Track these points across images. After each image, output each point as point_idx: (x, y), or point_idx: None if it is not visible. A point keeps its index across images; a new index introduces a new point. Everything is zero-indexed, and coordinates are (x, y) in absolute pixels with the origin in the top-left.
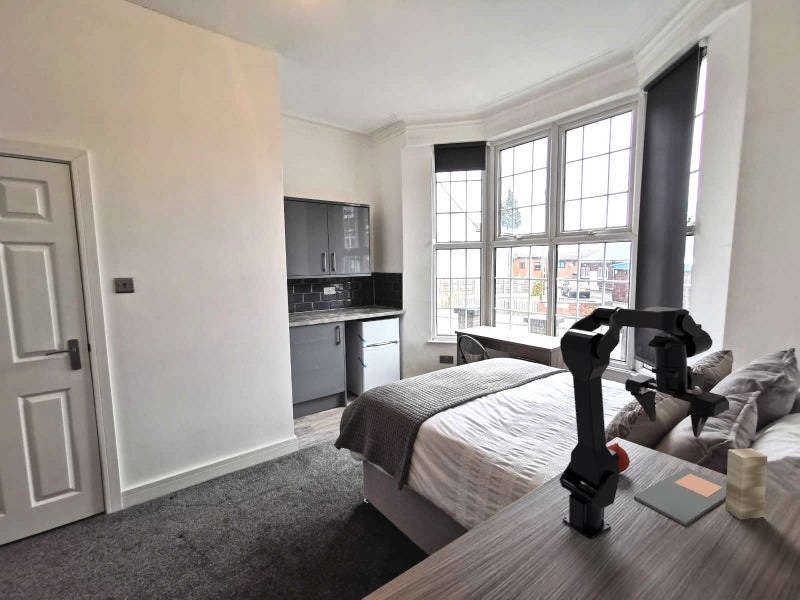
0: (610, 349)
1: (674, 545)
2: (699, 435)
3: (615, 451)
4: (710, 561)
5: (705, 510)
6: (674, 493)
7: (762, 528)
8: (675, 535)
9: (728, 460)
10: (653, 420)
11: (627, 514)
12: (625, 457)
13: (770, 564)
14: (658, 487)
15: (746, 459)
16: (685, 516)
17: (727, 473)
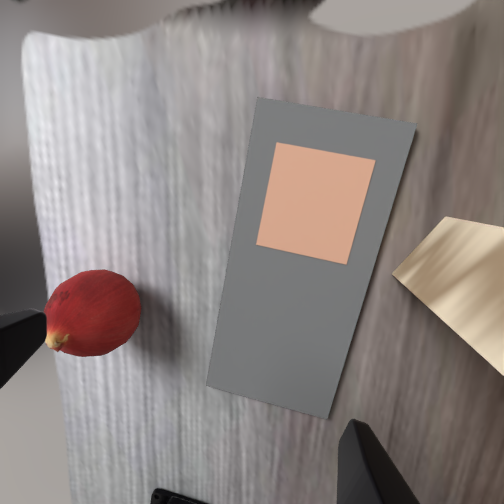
0: None
1: (324, 488)
2: (370, 435)
3: (78, 352)
4: None
5: (353, 332)
6: (273, 305)
7: None
8: (318, 457)
9: (492, 363)
10: (38, 337)
11: (223, 447)
12: (115, 332)
13: (490, 437)
14: (233, 303)
15: None
16: (321, 394)
17: (449, 326)
